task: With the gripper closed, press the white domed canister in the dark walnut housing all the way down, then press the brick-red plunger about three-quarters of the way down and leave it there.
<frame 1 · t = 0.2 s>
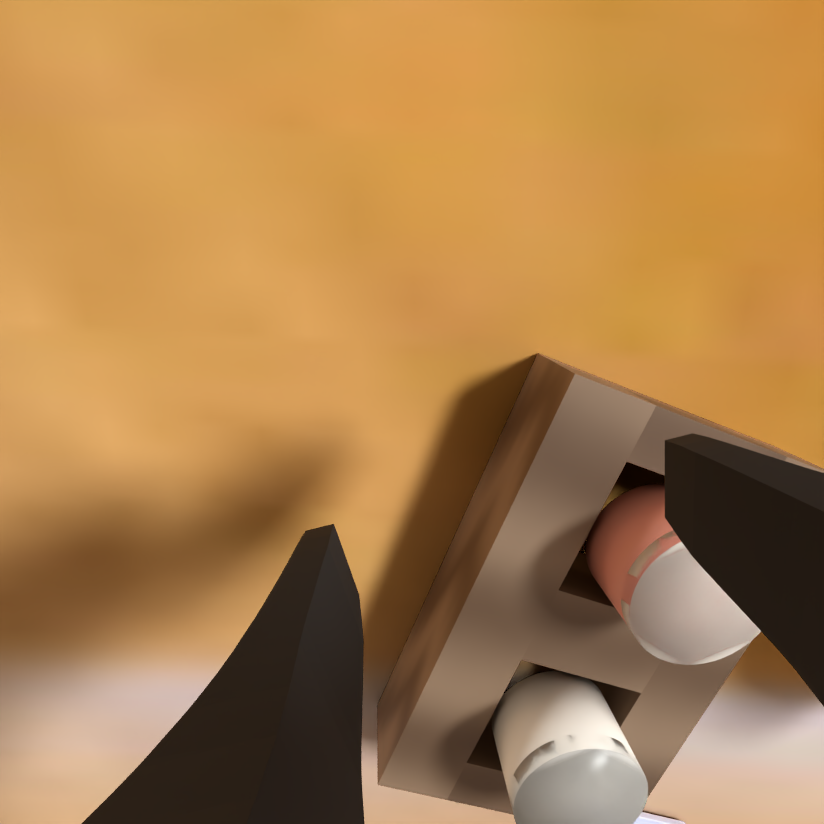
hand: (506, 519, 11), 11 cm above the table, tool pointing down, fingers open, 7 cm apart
housing: (565, 582, 24), on the table
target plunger: (674, 569, 18), point 5 cm above the table, slide at 0.0 cm
white domed canister: (563, 756, 20), point 5 cm above the table, slide at 0.0 cm
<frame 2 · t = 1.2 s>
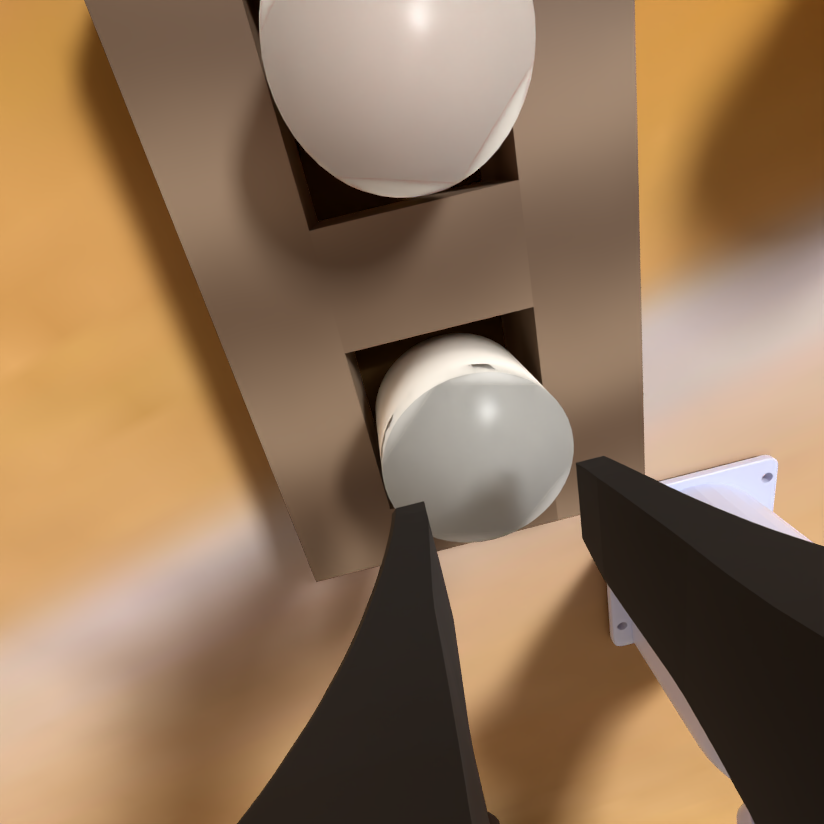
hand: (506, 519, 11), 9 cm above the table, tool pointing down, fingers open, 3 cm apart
housing: (411, 253, 17), on the table
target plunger: (393, 68, 11), point 5 cm above the table, slide at 0.0 cm
white domed canister: (465, 433, 14), point 5 cm above the table, slide at 0.0 cm
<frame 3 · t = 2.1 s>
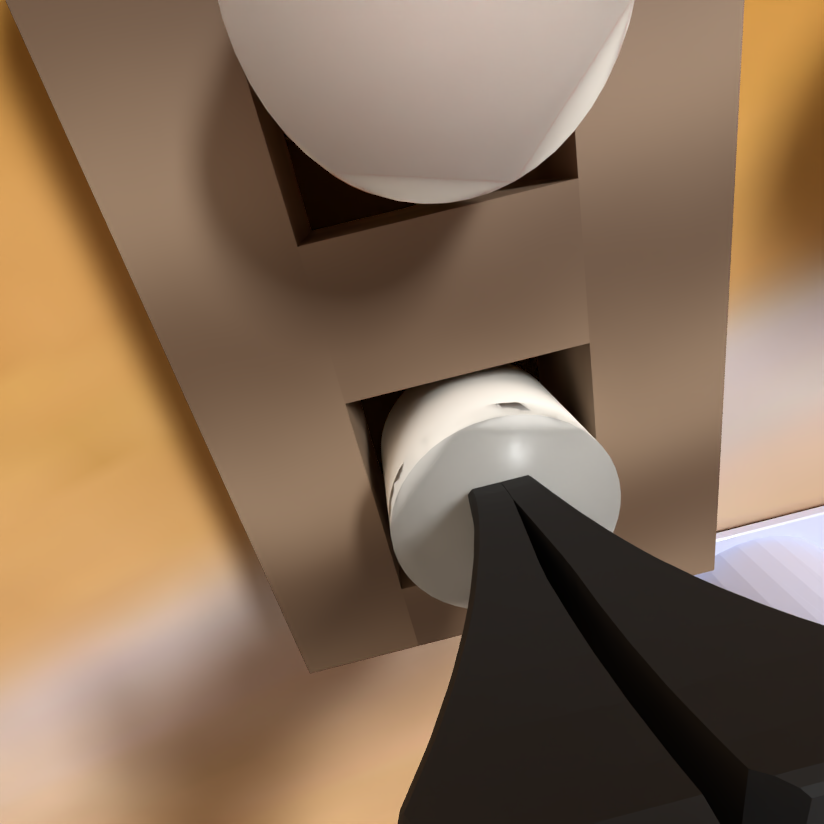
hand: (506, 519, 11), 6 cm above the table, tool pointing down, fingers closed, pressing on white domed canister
housing: (427, 269, 14), on the table
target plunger: (415, 16, 7), point 5 cm above the table, slide at 0.0 cm
white domed canister: (487, 478, 12), point 4 cm above the table, slide at 1.2 cm, touching gripper
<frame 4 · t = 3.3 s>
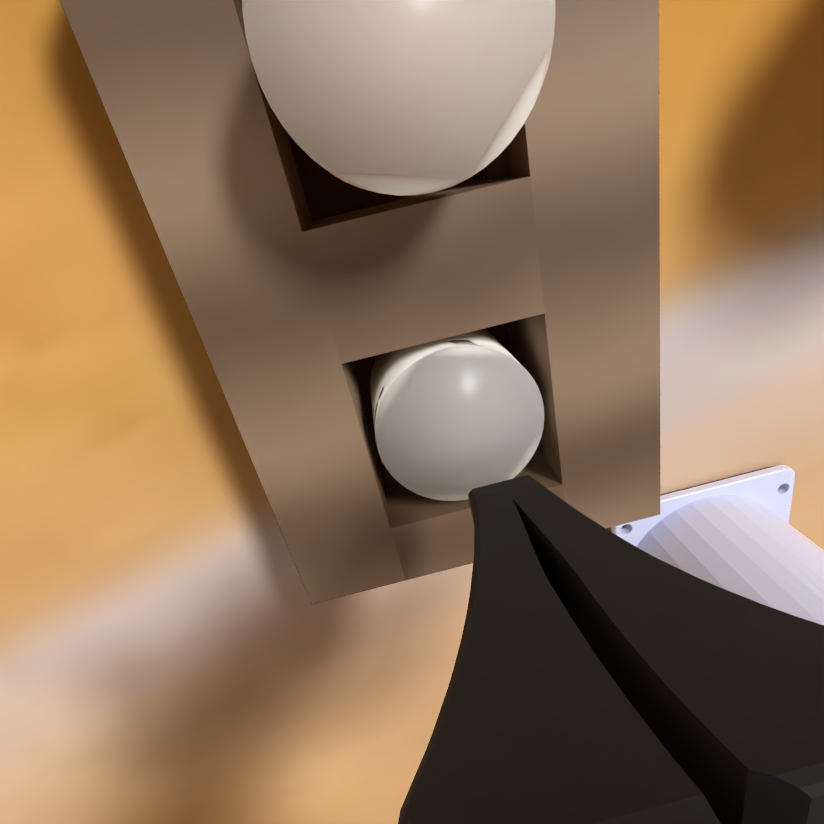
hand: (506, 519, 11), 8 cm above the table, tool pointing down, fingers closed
housing: (411, 255, 16), on the table
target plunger: (394, 51, 10), point 5 cm above the table, slide at 0.0 cm
white domed canister: (449, 404, 16), point 2 cm above the table, slide at 3.0 cm
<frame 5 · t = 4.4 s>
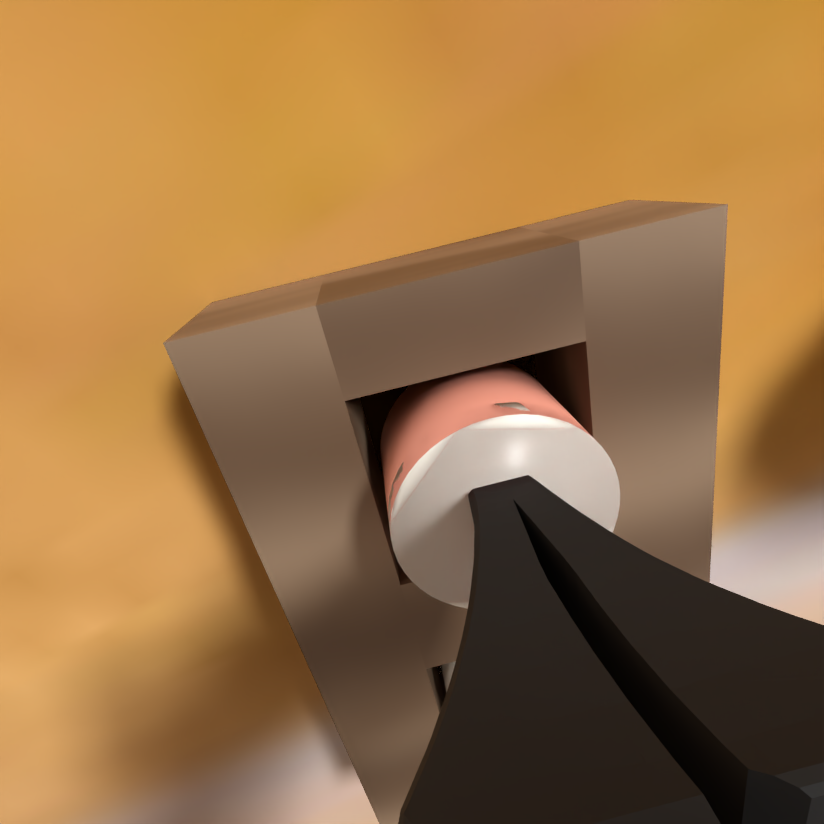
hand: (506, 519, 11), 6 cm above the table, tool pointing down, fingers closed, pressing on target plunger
housing: (476, 520, 18), on the table
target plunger: (486, 478, 12), point 4 cm above the table, slide at 1.1 cm, touching gripper
white domed canister: (511, 658, 18), point 2 cm above the table, slide at 3.0 cm
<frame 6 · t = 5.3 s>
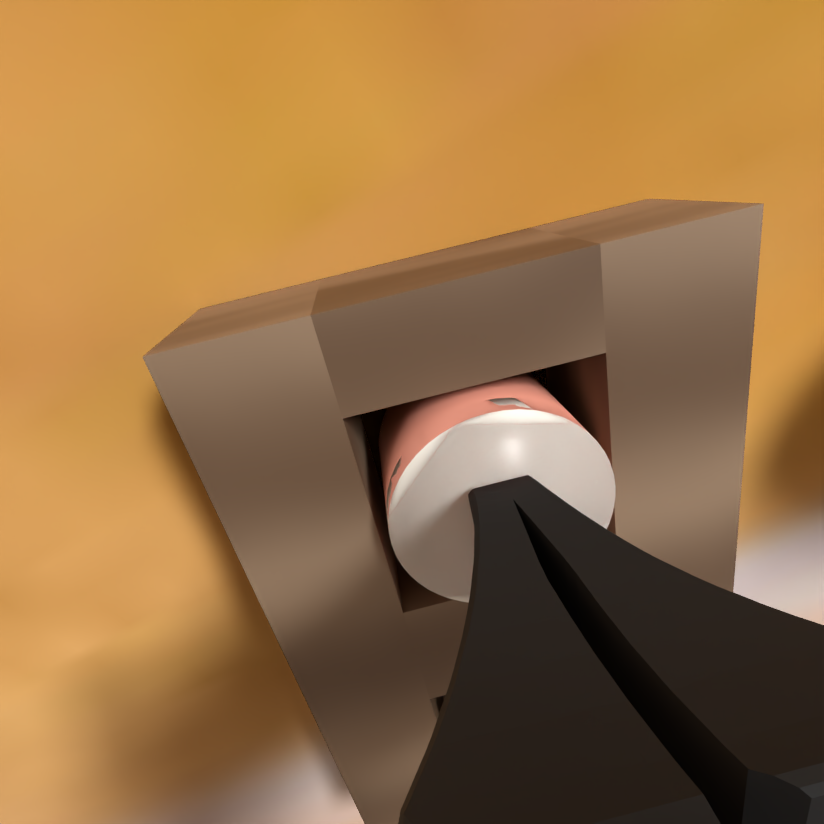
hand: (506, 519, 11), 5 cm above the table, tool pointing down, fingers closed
housing: (482, 537, 17), on the table
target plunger: (483, 473, 12), point 3 cm above the table, slide at 2.2 cm
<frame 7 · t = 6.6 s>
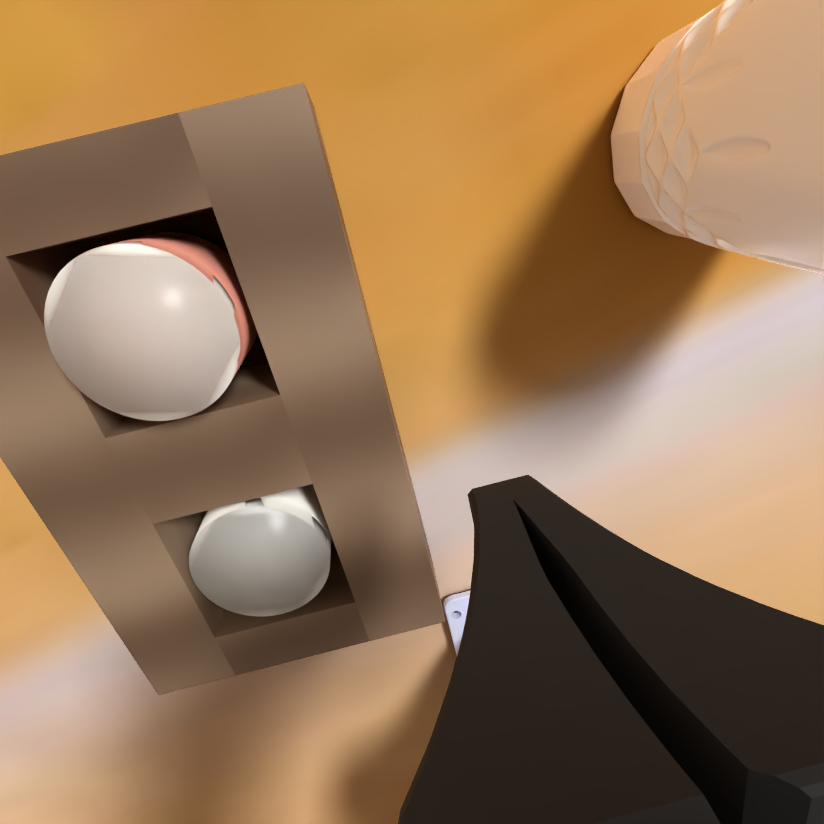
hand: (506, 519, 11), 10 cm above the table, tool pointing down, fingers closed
housing: (238, 412, 20), on the table
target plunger: (165, 323, 15), point 3 cm above the table, slide at 2.2 cm
white cup: (696, 133, 18), on the table
white domed canister: (267, 534, 20), point 2 cm above the table, slide at 3.0 cm
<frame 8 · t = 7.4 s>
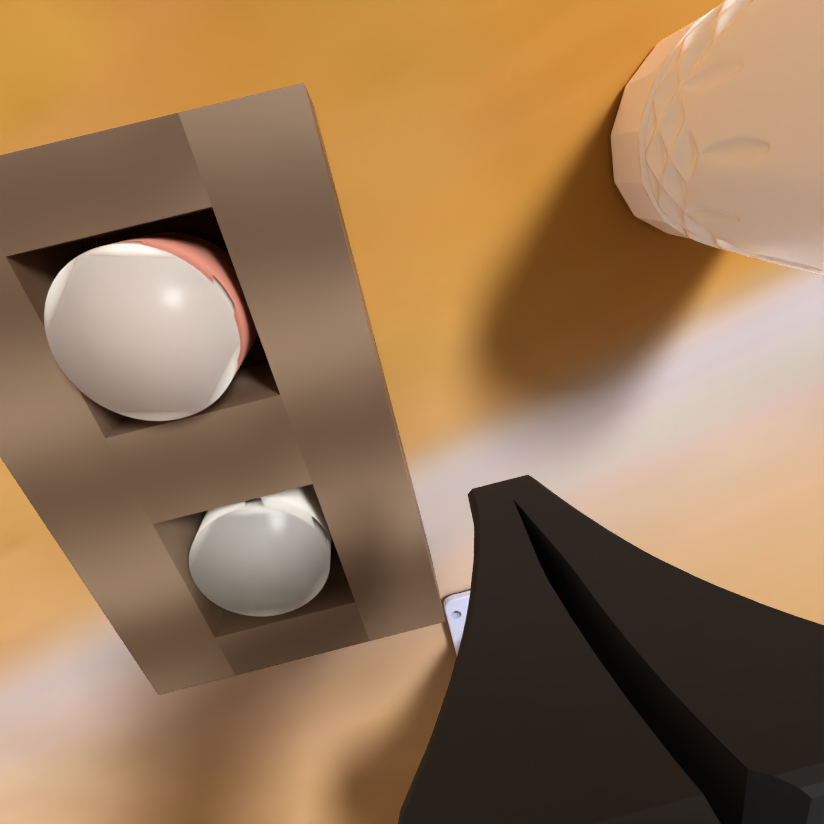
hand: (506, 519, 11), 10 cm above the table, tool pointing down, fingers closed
housing: (238, 412, 20), on the table
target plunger: (165, 323, 15), point 3 cm above the table, slide at 2.2 cm
white cup: (696, 133, 18), on the table
white domed canister: (267, 534, 20), point 2 cm above the table, slide at 3.0 cm
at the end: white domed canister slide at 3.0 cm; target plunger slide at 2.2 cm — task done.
